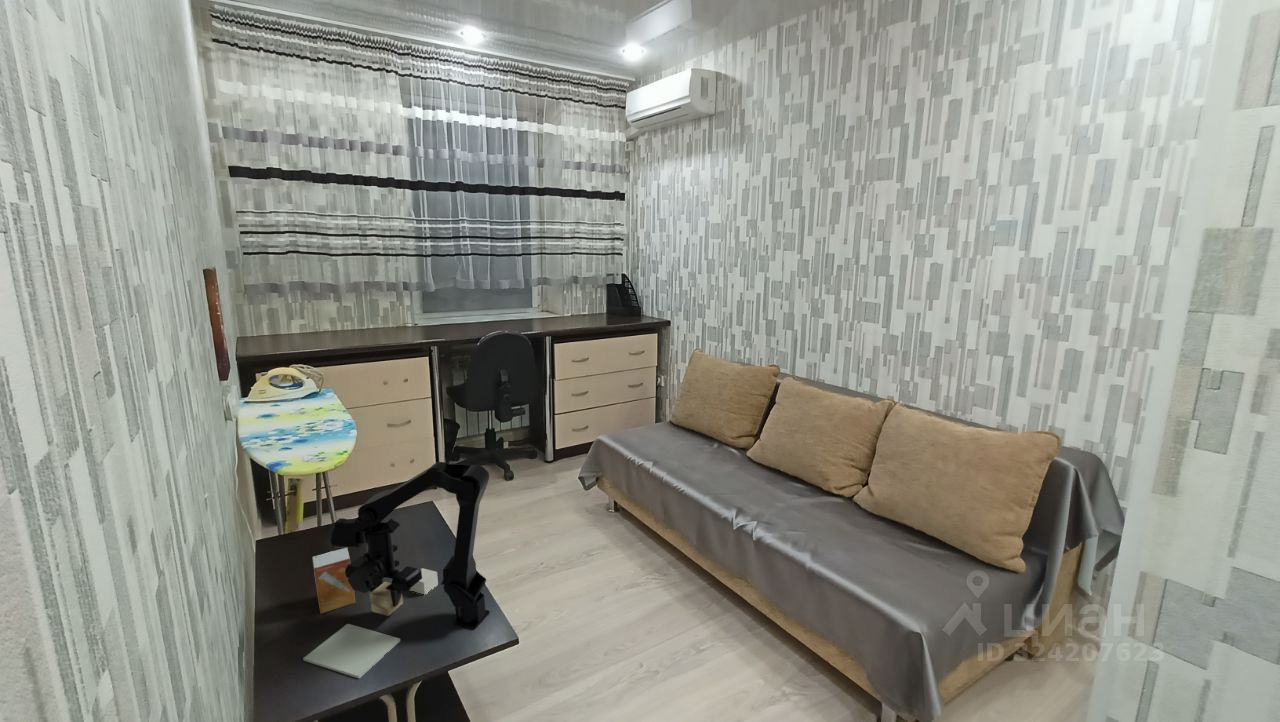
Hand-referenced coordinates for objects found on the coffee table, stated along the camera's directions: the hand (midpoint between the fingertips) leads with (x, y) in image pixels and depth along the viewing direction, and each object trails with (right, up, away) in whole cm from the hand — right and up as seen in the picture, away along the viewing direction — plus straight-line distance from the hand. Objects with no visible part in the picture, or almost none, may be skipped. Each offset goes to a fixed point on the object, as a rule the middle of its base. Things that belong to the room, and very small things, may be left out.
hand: (387, 603), depth 137 cm
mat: (-3, -6, -11) cm, 13 cm away
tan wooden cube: (0, -1, 0) cm, 1 cm away
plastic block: (+4, -1, +12) cm, 13 cm away
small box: (-16, -3, +6) cm, 17 cm away
